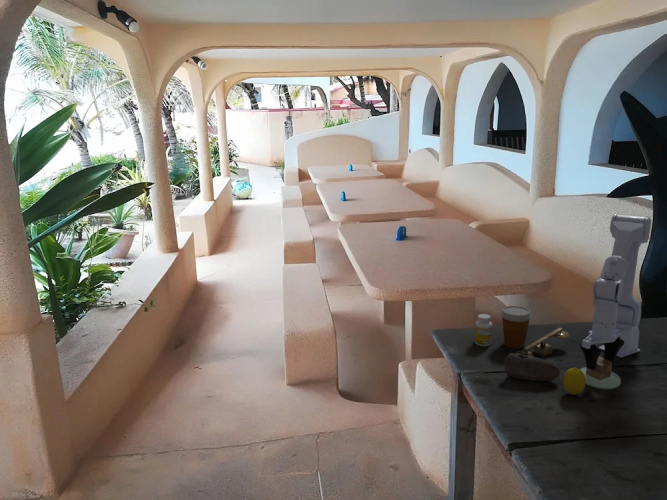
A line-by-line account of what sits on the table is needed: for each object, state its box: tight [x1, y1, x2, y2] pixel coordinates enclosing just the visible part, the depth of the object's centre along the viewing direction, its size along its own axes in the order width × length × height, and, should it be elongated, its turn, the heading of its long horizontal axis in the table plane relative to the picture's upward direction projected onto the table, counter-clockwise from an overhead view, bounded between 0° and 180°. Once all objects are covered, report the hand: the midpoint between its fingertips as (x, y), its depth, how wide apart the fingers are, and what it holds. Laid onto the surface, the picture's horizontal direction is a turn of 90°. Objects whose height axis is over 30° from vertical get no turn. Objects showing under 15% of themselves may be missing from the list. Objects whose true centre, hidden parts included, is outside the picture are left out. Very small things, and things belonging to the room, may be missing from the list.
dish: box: [579, 366, 622, 390], centre depth 149 cm, size 11×11×1 cm
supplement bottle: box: [474, 313, 493, 347], centre depth 174 cm, size 5×5×10 cm
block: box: [586, 356, 613, 380], centre depth 149 cm, size 4×4×4 cm
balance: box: [515, 327, 570, 357], centre depth 166 cm, size 21×5×7 cm, turn 117°
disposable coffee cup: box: [500, 305, 532, 349], centre depth 172 cm, size 10×10×12 cm
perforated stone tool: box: [503, 352, 560, 382], centre depth 150 cm, size 15×5×7 cm, turn 68°
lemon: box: [562, 367, 586, 396], centre depth 141 cm, size 6×6×8 cm
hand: (599, 365), depth 148 cm, fingers open, 7 cm apart
